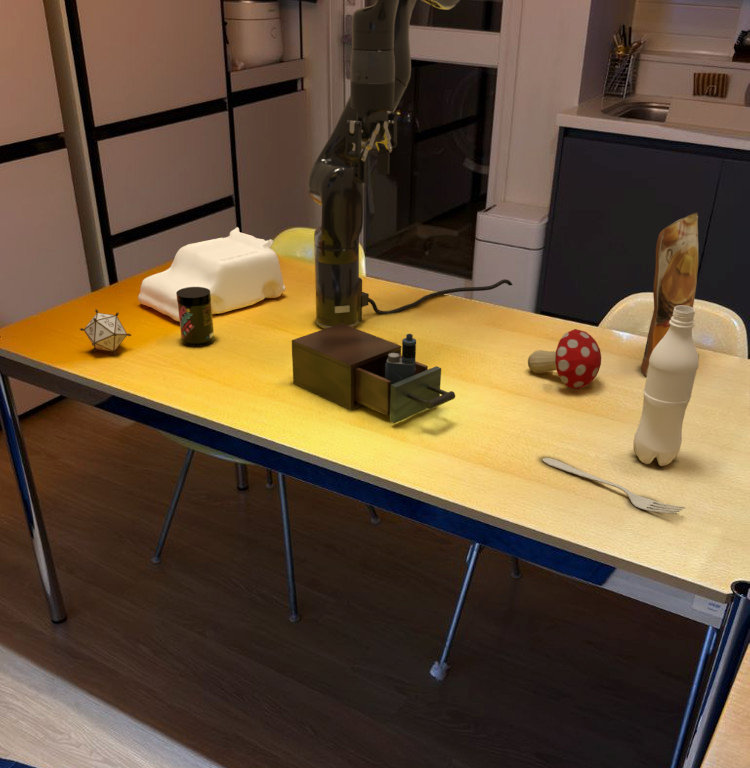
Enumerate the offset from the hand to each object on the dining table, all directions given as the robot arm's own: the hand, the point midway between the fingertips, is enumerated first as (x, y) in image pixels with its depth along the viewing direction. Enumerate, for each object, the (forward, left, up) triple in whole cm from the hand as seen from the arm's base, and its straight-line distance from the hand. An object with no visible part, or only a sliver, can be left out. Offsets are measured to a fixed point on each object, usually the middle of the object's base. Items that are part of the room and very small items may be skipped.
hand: (371, 178), depth 157 cm
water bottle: (-4, +61, -34) cm, 70 cm away
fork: (+10, +61, -34) cm, 71 cm away
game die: (+36, -38, -34) cm, 63 cm away
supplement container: (+20, -30, -34) cm, 50 cm away
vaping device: (+13, +20, -32) cm, 40 cm away
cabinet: (+13, +7, -34) cm, 37 cm away
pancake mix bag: (-40, +42, -34) cm, 67 cm away
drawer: (+13, +21, -33) cm, 41 cm away
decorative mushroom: (-19, +33, -34) cm, 51 cm away
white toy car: (+3, -48, -34) cm, 59 cm away
